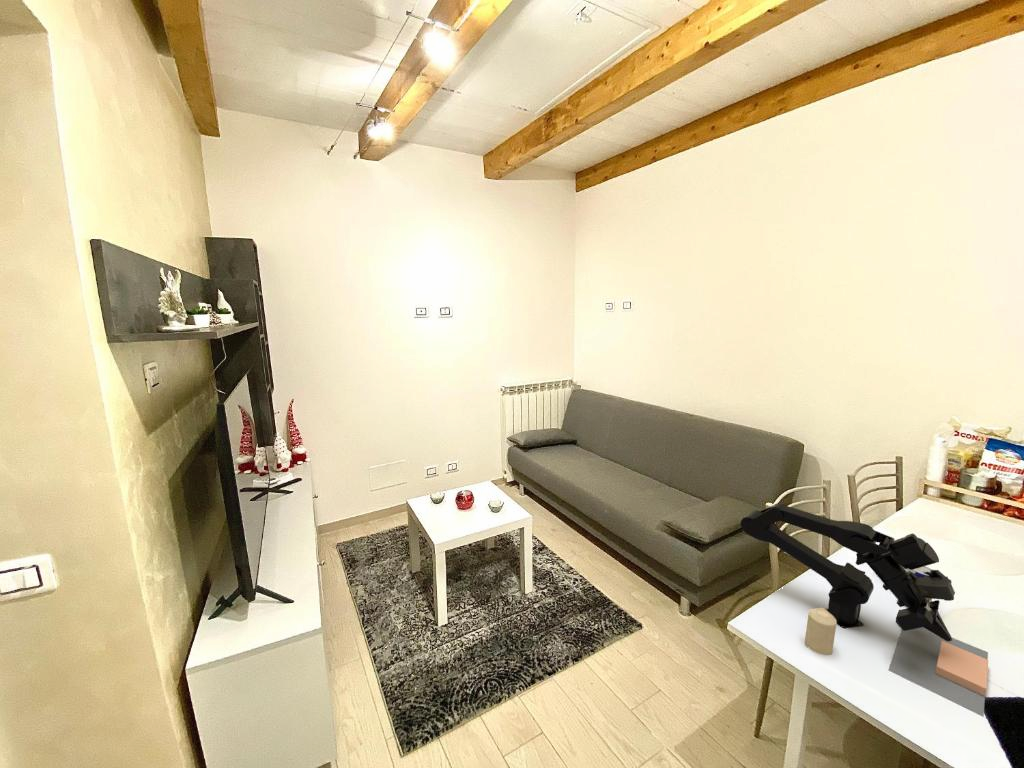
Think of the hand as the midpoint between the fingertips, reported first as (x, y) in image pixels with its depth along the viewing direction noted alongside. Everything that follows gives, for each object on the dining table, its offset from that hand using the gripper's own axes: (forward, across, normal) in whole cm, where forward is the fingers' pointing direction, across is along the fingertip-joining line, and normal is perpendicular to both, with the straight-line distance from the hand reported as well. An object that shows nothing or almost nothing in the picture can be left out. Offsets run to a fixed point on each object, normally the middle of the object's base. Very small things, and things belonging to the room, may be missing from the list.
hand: (949, 640), depth 96 cm
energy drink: (0, +20, +10) cm, 22 cm away
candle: (-10, -16, +20) cm, 27 cm away
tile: (+3, 0, +4) cm, 5 cm away
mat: (+4, 0, +5) cm, 7 cm away
